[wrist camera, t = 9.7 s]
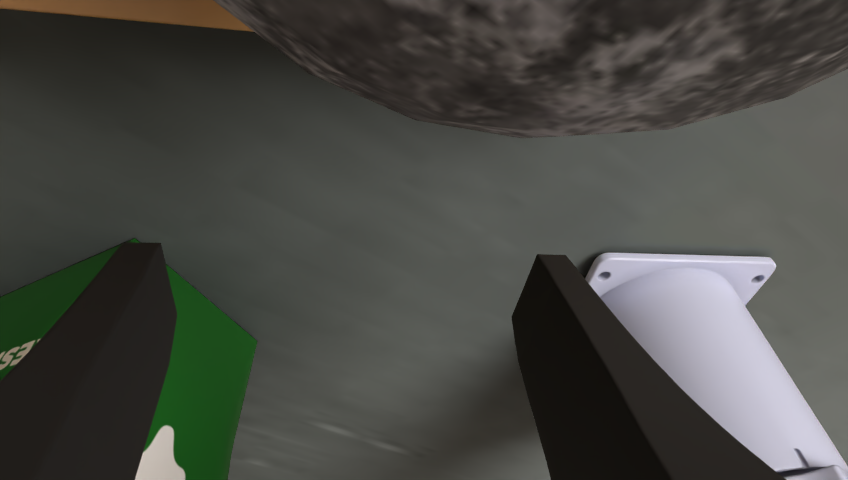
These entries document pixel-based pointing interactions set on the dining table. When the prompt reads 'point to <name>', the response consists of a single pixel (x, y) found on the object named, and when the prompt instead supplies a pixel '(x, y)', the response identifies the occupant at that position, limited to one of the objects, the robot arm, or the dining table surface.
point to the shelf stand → (138, 11)
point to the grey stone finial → (559, 57)
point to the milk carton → (186, 376)
